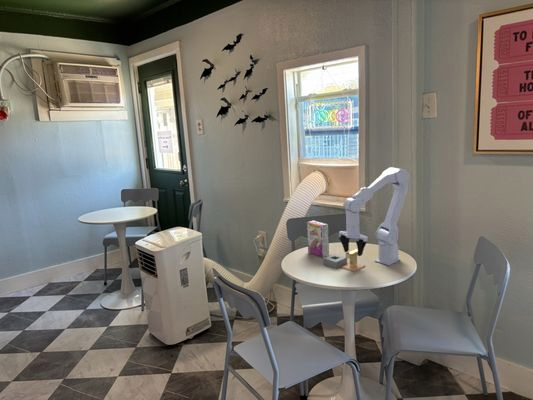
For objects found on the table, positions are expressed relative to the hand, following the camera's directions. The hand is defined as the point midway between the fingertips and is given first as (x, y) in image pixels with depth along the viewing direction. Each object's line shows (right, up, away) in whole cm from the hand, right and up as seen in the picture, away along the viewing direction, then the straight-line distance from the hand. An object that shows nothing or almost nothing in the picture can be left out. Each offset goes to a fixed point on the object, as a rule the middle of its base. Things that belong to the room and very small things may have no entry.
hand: (353, 253), depth 176 cm
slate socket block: (-7, -6, +7) cm, 11 cm away
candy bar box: (-13, -3, +21) cm, 25 cm away
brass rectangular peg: (0, -6, +1) cm, 6 cm away
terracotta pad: (0, -6, +1) cm, 7 cm away
